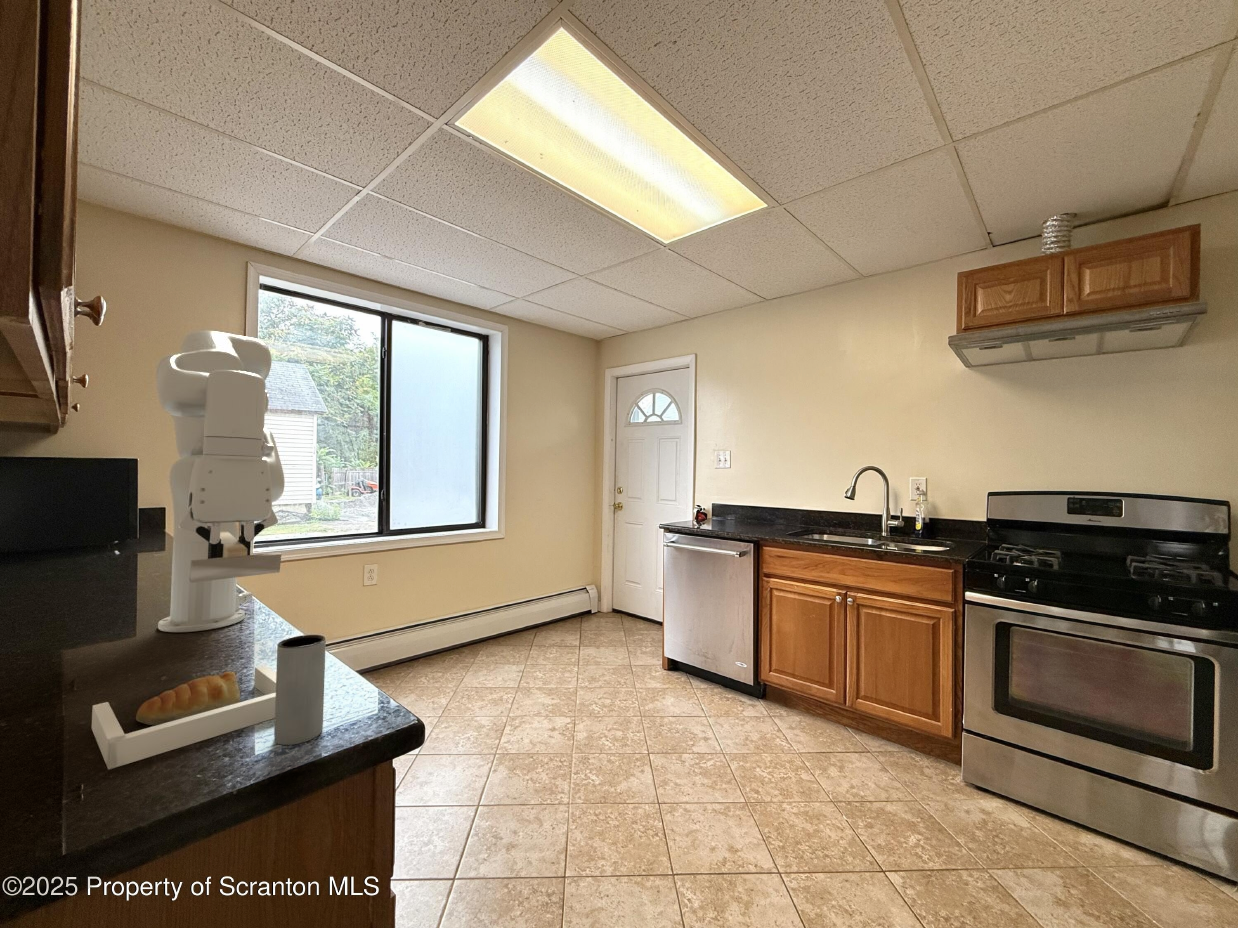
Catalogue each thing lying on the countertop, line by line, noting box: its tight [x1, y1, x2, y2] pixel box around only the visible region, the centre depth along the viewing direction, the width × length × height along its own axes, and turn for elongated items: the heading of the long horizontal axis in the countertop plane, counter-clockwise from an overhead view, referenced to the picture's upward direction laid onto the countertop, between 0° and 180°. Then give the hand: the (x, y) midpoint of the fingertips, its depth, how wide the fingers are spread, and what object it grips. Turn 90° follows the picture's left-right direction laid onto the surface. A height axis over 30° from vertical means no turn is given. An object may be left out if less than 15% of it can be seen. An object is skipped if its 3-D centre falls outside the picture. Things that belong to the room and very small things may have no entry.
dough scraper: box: [189, 532, 282, 583], centre depth 80 cm, size 12×11×4 cm
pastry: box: [135, 671, 241, 726], centre depth 61 cm, size 9×7×4 cm
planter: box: [273, 634, 327, 746], centre depth 56 cm, size 4×4×10 cm
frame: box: [91, 664, 276, 770], centre depth 59 cm, size 12×16×2 cm
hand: (228, 566), depth 79 cm, fingers closed on dough scraper, 2 cm apart
